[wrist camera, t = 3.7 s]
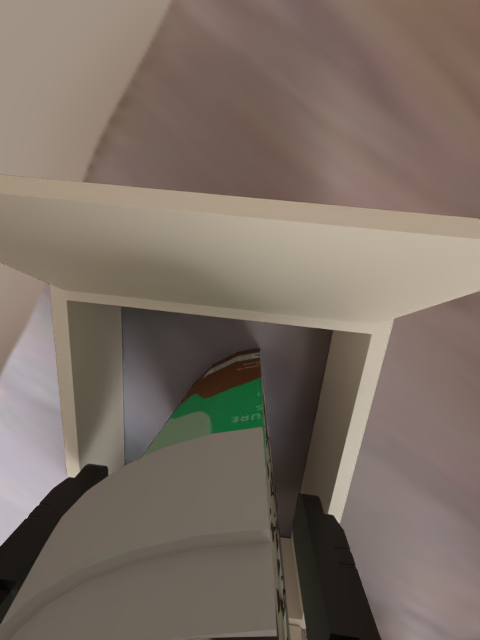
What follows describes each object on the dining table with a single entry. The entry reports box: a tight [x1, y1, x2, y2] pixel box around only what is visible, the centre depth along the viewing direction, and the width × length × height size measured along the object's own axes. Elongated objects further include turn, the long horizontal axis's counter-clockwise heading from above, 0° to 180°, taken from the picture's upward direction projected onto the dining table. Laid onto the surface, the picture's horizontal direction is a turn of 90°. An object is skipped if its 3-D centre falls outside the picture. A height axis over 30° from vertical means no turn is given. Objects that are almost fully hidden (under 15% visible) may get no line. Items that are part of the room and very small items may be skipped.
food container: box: [0, 348, 291, 640], centre depth 8 cm, size 12×6×10 cm, turn 7°
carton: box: [0, 175, 480, 640], centre depth 9 cm, size 12×20×8 cm, turn 174°
